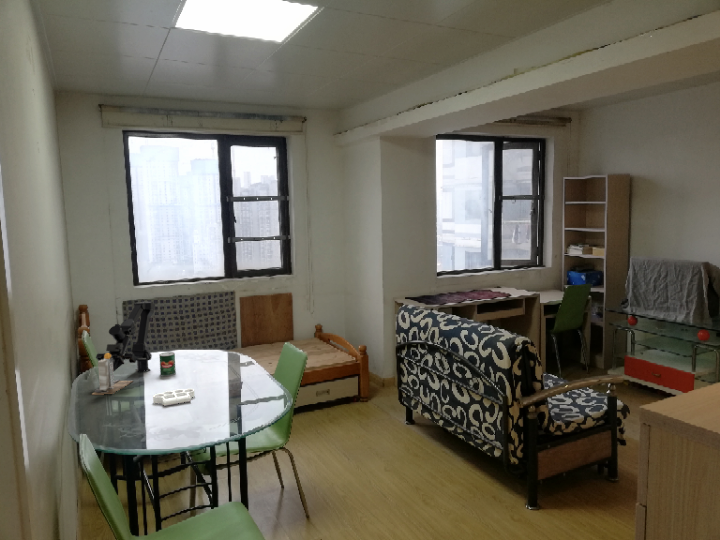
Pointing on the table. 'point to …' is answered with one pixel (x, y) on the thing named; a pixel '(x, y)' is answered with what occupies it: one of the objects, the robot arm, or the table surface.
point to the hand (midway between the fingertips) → (110, 372)
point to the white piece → (174, 397)
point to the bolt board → (116, 387)
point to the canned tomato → (167, 363)
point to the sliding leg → (110, 368)
